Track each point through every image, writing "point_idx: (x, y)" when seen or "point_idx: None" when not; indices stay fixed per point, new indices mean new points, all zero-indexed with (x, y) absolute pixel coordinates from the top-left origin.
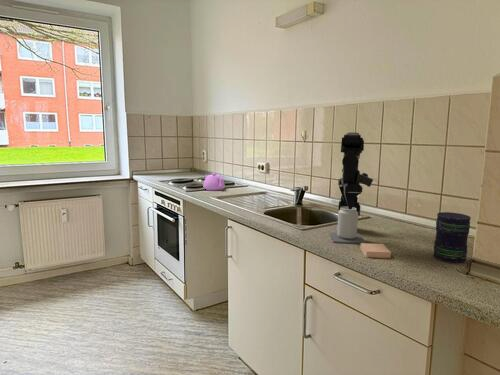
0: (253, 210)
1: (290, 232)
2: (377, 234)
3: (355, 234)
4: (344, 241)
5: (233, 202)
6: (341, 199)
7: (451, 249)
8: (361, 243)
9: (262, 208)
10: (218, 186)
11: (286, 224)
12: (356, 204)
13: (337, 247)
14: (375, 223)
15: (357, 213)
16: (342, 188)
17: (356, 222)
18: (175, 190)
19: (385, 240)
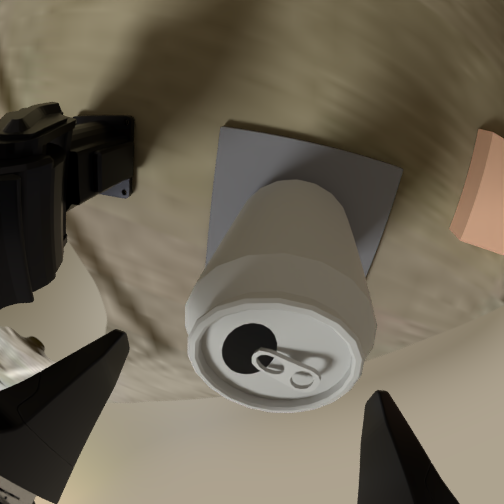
0: (33, 361)
1: (202, 384)
2: (211, 16)
3: (342, 210)
4: (365, 270)
5: (8, 362)
6: (8, 304)
7: None
8: (464, 239)
9: (10, 338)
10: None
11: None
12: (22, 172)
13: (407, 312)
14: (42, 15)
15: (355, 283)
16: (51, 488)
17: (351, 244)
18: None
19: (338, 18)
